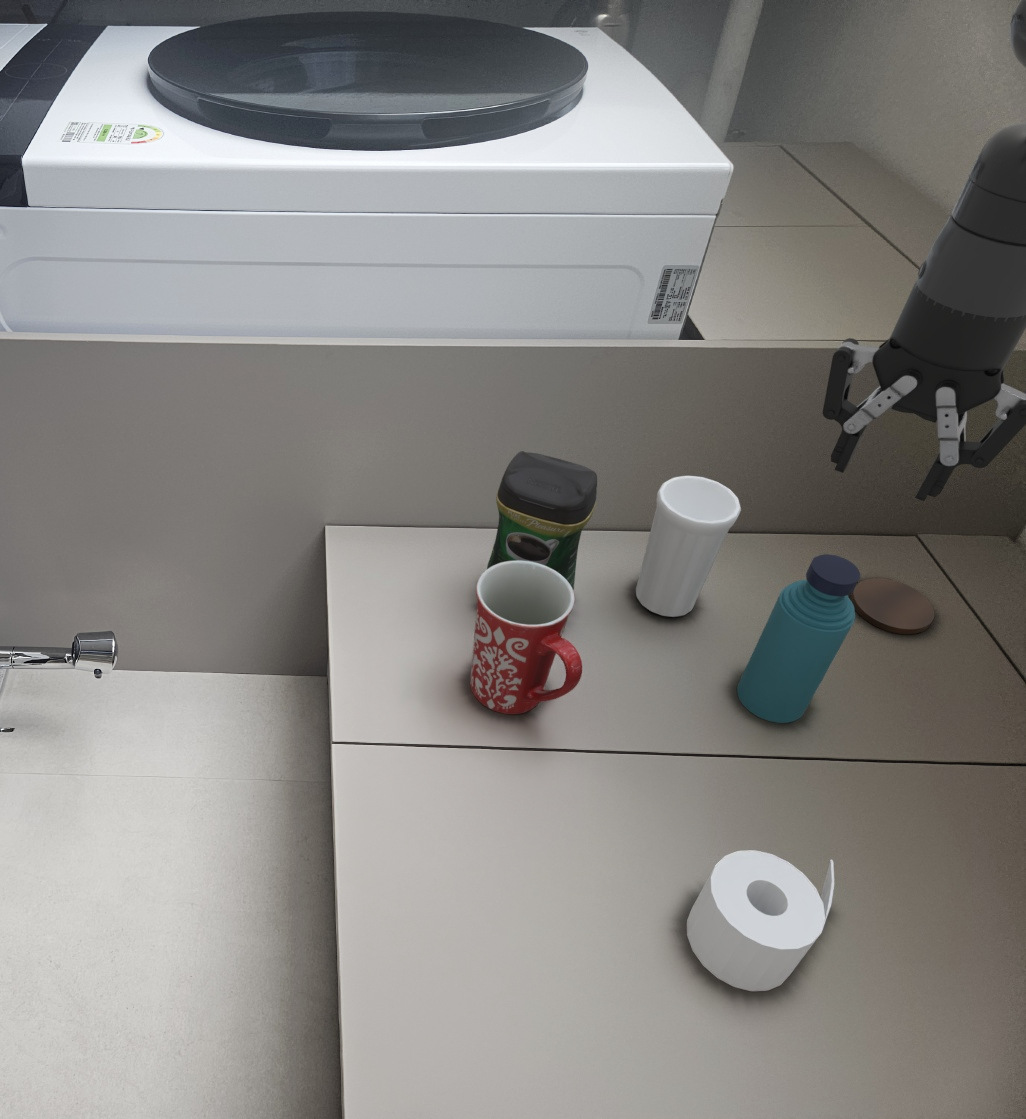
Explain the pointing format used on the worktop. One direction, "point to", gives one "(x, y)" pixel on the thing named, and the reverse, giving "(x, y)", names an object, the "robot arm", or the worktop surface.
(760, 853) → the toilet paper
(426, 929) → the worktop surface
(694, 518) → the cup
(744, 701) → the bottle
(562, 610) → the mug
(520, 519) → the coffee jar
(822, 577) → the cap
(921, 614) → the coaster
